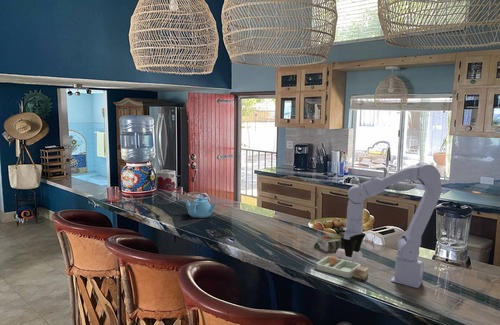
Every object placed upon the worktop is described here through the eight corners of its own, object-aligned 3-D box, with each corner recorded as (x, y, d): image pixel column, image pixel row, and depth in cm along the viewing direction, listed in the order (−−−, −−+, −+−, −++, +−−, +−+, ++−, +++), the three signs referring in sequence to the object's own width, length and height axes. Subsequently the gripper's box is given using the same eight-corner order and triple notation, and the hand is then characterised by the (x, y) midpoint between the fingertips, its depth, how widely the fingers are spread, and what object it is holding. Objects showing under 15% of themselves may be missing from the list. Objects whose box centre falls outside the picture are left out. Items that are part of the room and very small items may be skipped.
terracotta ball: (338, 264, 155) (339, 256, 155) (335, 267, 152) (335, 258, 152) (330, 262, 157) (330, 254, 157) (326, 265, 154) (327, 256, 154)
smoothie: (342, 242, 165) (370, 250, 154) (344, 256, 167) (373, 264, 156) (332, 249, 162) (360, 257, 151) (335, 263, 163) (363, 272, 152)
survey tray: (360, 271, 152) (361, 264, 152) (349, 280, 142) (350, 273, 142) (327, 262, 160) (327, 255, 159) (314, 270, 150) (315, 263, 150)
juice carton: (325, 254, 170) (326, 241, 169) (312, 248, 179) (313, 235, 178) (360, 250, 179) (361, 237, 179) (346, 244, 188) (347, 231, 187)
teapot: (183, 213, 232) (183, 195, 231) (207, 211, 239) (207, 194, 238) (191, 219, 219) (192, 200, 218) (216, 217, 226) (217, 199, 225)
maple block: (367, 278, 145) (368, 268, 144) (364, 282, 141) (365, 271, 141) (357, 275, 147) (358, 265, 147) (353, 279, 144) (354, 268, 143)
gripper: (351, 213, 153) (349, 247, 154) (336, 220, 141) (334, 256, 143) (369, 216, 149) (366, 250, 150) (355, 223, 137) (353, 260, 139)
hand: (352, 254), depth 146 cm, fingers open, 7 cm apart
